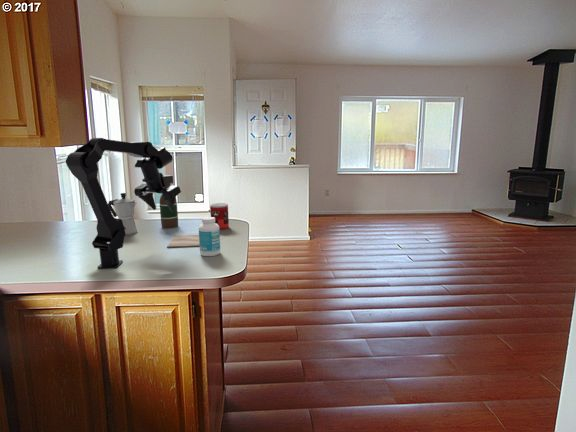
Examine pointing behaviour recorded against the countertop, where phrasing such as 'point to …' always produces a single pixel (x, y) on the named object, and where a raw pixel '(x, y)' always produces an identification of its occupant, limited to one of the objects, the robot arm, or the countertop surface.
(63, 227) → the countertop surface
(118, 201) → the coffee maker
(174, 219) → the beer bottle
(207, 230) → the pill bottle
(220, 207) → the canned food
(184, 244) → the walnut board
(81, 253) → the countertop surface
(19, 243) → the countertop surface
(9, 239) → the countertop surface
